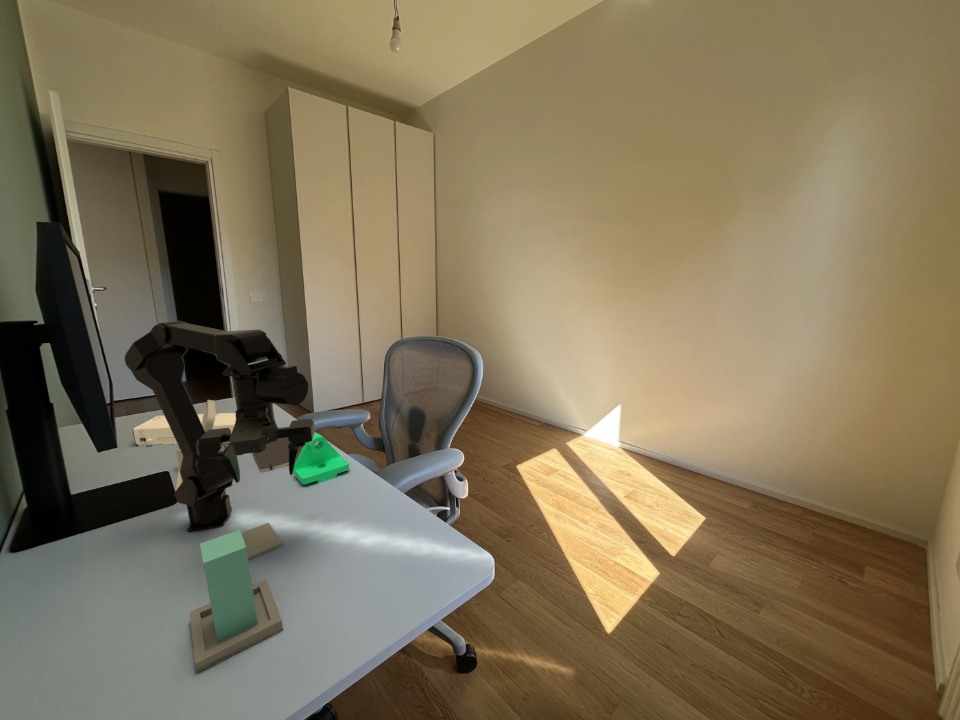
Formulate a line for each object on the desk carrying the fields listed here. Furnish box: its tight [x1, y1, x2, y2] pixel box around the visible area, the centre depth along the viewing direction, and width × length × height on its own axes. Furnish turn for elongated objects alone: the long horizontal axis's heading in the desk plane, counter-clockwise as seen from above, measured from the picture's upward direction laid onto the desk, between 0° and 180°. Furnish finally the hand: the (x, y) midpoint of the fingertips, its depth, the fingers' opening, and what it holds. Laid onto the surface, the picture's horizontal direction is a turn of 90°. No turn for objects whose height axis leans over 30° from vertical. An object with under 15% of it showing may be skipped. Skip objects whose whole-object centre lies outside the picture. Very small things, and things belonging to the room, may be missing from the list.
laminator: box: [131, 412, 236, 445], centre depth 126 cm, size 34×12×6 cm, turn 97°
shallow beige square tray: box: [189, 578, 284, 674], centre depth 59 cm, size 10×10×2 cm
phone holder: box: [175, 399, 217, 491], centre depth 101 cm, size 17×10×18 cm, turn 34°
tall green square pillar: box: [199, 529, 258, 643], centre depth 58 cm, size 5×5×13 cm
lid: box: [241, 522, 284, 561], centre depth 77 cm, size 9×9×1 cm
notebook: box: [252, 437, 303, 473], centre depth 116 cm, size 13×2×21 cm
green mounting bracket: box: [292, 432, 350, 485], centre depth 102 cm, size 12×8×10 cm, turn 131°
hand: (265, 477), depth 76 cm, fingers open, 9 cm apart
